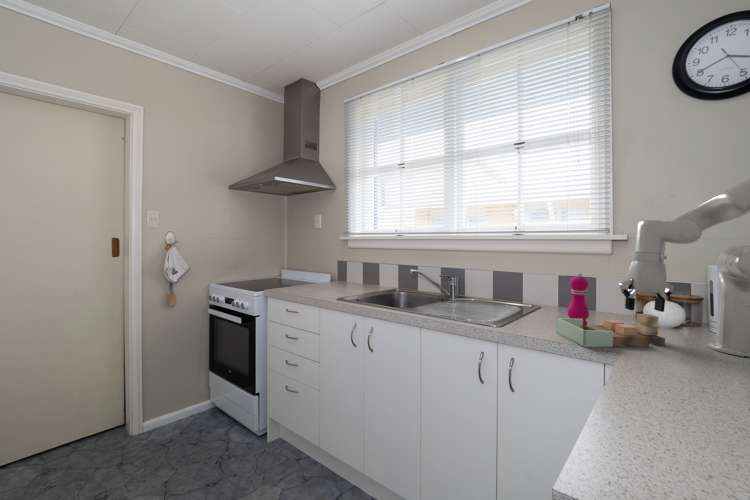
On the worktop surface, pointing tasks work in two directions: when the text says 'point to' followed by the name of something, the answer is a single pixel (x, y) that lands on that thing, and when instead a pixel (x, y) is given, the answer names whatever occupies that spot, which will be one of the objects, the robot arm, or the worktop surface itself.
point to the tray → (583, 333)
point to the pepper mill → (578, 299)
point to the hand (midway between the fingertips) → (644, 310)
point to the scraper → (649, 328)
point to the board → (622, 337)
